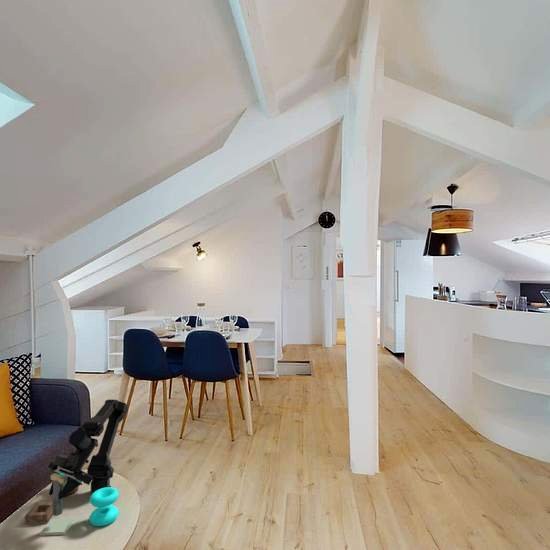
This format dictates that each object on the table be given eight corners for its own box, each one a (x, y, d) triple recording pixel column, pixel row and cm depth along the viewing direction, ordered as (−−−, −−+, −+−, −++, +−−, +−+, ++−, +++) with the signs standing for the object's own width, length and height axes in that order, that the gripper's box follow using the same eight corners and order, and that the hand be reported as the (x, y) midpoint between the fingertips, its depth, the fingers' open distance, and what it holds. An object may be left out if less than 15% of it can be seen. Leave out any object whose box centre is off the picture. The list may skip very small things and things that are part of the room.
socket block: (57, 509, 151) (57, 502, 151) (47, 522, 143) (47, 514, 143) (36, 510, 150) (36, 502, 150) (24, 523, 142) (24, 515, 142)
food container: (67, 501, 156) (67, 477, 156) (54, 499, 157) (54, 475, 157) (87, 485, 168) (88, 462, 168) (75, 483, 169) (75, 461, 169)
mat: (73, 520, 144) (73, 517, 144) (63, 534, 136) (63, 531, 136) (51, 521, 144) (51, 518, 144) (40, 535, 136) (40, 532, 136)
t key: (48, 513, 140) (48, 475, 140) (56, 508, 143) (56, 472, 143) (59, 518, 137) (59, 480, 137) (66, 513, 140) (67, 476, 140)
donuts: (114, 499, 141) (85, 501, 140) (113, 527, 141) (85, 528, 140) (122, 485, 151) (95, 486, 150) (121, 510, 151) (95, 511, 150)
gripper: (52, 439, 148) (22, 482, 138) (85, 450, 139) (56, 496, 129) (71, 451, 155) (43, 493, 145) (103, 462, 146) (77, 507, 137)
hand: (54, 497), depth 139 cm, fingers closed on t key, 5 cm apart
